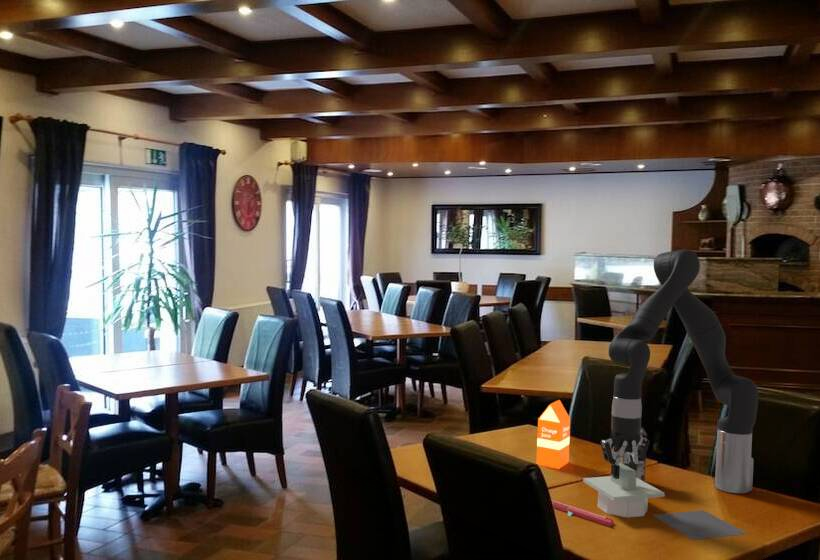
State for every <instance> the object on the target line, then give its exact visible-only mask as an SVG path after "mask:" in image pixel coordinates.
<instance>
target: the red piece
mask: <svg viewBox="0 0 820 560" xmlns="http://www.w3.org/2000/svg"><path fill="white" fill-rule="evenodd" d="M551 500H552V499H551ZM552 502H553V506H554V509H557V510H559V511H562V512H567V516H568V517H572V516H576V517H580V518H583V519H585V520H589V521H591V522H595V523H597V524H599V525H600V524H601V525H603V526H606V527H610V528H612V527H613V525H614V518H612V517H608V516H607V515H606V514H599V513H595V512H592V511H589V510H586V509H584V508H580V507H577V506H574V505H570V504H569V503H568V504H564V503H563V502H559V501H557V500H552Z"/></svg>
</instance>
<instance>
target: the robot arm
mask: <svg viewBox="0 0 820 560" xmlns="http://www.w3.org/2000/svg"><path fill="white" fill-rule="evenodd" d="M700 268H701V264H700V258H699V257H698V255H697V253H696V252H694V251H693V250H690V249H679V250H672V251H667V252H666V251H665V252H662V253H660V254H657V255H656V257H655V258H654V260H653V271H654V274H655V277H656V278H657V280H658V282H659V284H660V285H661V286H660V287H659V288H658V289H657V290H655V292H654V293H652V294H651V295H649V297H648V298H646V299H645V300H644V301H643V303H641V304H640V306H639V307H638V309H637V311H636V313H635V314H634V315H633V317H632V319H631V321H630V322H629V324H627V325H626V326H625V327H624V328H623V329H622V330H620V331H619V332H618V333H617V334H616V335H615V336H614V337H613V339H612V340H611V342H610V344H609V347H608V356H609V359H610V360H611V361H612V362H613V363H615V364H618V365H624V366H630V367H629V369H628V371H627V372H625V373H618V374H616V375H615V376H614V380H613V398H612V403H611V420H610V422H611V425H610V430H611V435H610V437H609V438H608V439H601V441H600V447H601V451H602V455H603V458H604V461H605V462H608V463H609V464H611V465H610V466H611V467H610V476H611V475H612V476H613V478H615V479H619V472H620V465H619V463H621V458H622V457H623V454H624V453H625V452H627V453H628V456H629V460H630V462H629V468H631V469H633V470H635V471H637V464H638V462H640V461H644V459H645V456H646V457H647V452H648V449H649V446H650V443H651V441H650V439H648V438H647V439H646V438H643V437H642V438H641V437H640V434H639V433H640V432H641V428H642V411H643V410H642V409H643V408H642V407H643V405H642V387H643V385H642V384H643V381H644V378H645V374H646V372H647V371H646V370H647V368H648V365H649V362H650V358H651V349H650V346H649V345H648V343H647V342H646V341H650V340H652V339H653V338H654V337H655V335H656V333H657V332H658V330H659V328H660V327H661V325H662V323H663V321H664V319H665V318H666V316H667V315H668V313H669V311H670V310H671V309H672V307H674V309H675V311H676V312H677V314H678V316H679V319H680V320H681V322H682V323H683V327H684V329H685V331H686V334H687V335H688V338H689V339H690V341H691V343H692V346H693V347H694V349H695V351H696V352H697V354H698V357H699V359H700V362H701V363H702V365H703V367H704V371H706V375H707V378H708V382H709V385H710V387H711V390H712V392H713V394H714V396H715V398H716V399H717V400H718V402H719V403H722V405H724V406H728V407H729V409H728V415H726V416H725V417H724V416H723V417H721V418H719V419H718V421H717V432H716V433H717V435H716V452H715V453H716V457H715V472H714V473H715V475H714V487H715V488H716V489H718V490H720V491H723V492H726V493H731V494H747V493H749V492H751V491H753V479H754V476H753V475H754V458H753V457H752V442H753V429H754V427H755V424H756V420H757V415H758V413H757V412H758V405H759V388H758V386H757V384H756V383H755V381H754V380H752V379H750V378H747V377H744V376H740V375H736V374H735V373H734V371H733V370H732V368H731V366H730V365H729V362H728V360H727V357H726V345H727V343H726V342H727V339H726V333H725V331H724V329H723V326H722V324H721V322H720V320H719V317H718V316H717V315H716V313H715V312H714V311H713V310H712V309H711V308H710V307H709V306H708V305H706V304H705V303H704V302H703V301H701V300H700V299H699V298H698V297H696V295H694V294H693V293H692V292H691V291H690V289H689V287H690V286H691V284H692V283H693V282H694V281H695V280H696V278H697V276H698V275H699V272H700ZM638 443H639V446H638V449H637V448H636V446H637V445H638ZM612 446H613V447H612ZM636 474H637V472H636Z"/></svg>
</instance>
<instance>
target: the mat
mask: <svg viewBox="0 0 820 560" xmlns="http://www.w3.org/2000/svg"><path fill="white" fill-rule="evenodd" d="M652 516H653V517H654V518H656V519H657V520H659V521H661V522H662V523H664V524H666V525H667V526H669V527H671V528H672V529H674V530H676V531H678V532H680V533H681V534H683V535H684V536H686V537H687V538H688V539H691V540H693V541H695V540H704V539H714V538H723V537H732V536H733V537H734V536H740V535H742V536H743V535H748V532H746V531H744V530H742V529H740V528H738V527H736V526H734V525H733V524H730V523H729V522H726V521H725V520H723V519H721V518H719V517H717V516H716V515H714V514H712V513H711V512H708V511H707V510H705V509H703V510H701V509H700V510H693V511H682V512H681V511H679V512H672V513H670V512H669V513H660V514H659V513H658V514H652Z"/></svg>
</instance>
